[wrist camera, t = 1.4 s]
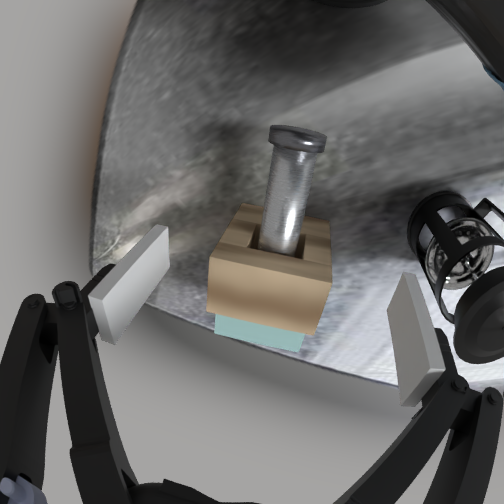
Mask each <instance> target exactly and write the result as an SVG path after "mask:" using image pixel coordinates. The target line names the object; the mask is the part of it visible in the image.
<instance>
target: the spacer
mask: <svg viewBox="0 0 504 504" xmlns="http://www.w3.org/2000/svg"><path fill="white" fill-rule="evenodd" d="M214 333H216V334H219V335H223V336H227V337H232V338H236V339H240V340H244V341H248V342H253V343H257V344H261V345H266V346H270V347H275V348H280V349H285V350H289V351H294V352H299V350H300V347H301V344H302V342H303V339H304V336H305V334H304V333H299V332H294V331H289V330H284V329H279V328H275V327H270V326H266V325H261V324H257V323H252V322H248V321H244V320H239V319H235V318H231V317H227V316H223V315H219V314H216V318H215V332H214Z"/></svg>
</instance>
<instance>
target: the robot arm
mask: <svg viewBox="0 0 504 504" xmlns="http://www.w3.org/2000/svg"><path fill="white" fill-rule="evenodd" d="M313 1H316V2H319V3H322V4H326V5H331V6H336V7H346V8H360V7H368V6H373V5H377V4H380V3H382V2H385V1H387V0H313ZM426 1H427V2H428V3H429V4H430V5H431V6H432V7H433V8H434V9H435V10H436V11H437V12H438V13H439V14H440V15H441V16H442V17H443V18H444V19H445V20H446V21H447V22H448V23H449V24H450V25H451V27H452V28H453V29H454V30H455V31H456V32H457V33H458V34H459V35H460V37H461V38H462V39H463V40H464V41H465V42H466V44H467V45H468V46H469V47H470V48H471V50H472V51H473V52H474V53H475V55H476V56H477V57H478V58H479V60H480V61H481V62H482V65H483V68H484V69H485V71H486V72H487V74H488V75H489V76H490V77H491V78H492V79H493V80H494V81H495V82H497V83H498V84H499V85H500V86H501V88H502V89H503V90H504V0H426ZM169 268H170V258H169V238H168V226H162V225H157V224H156V225H155V226H154V227H153V228H152V229H151V230H150V231H149V232H148V233H147V234H146V235H145V236H144V237H143V238H142V239H141V240H140V241H139V242H138V243H137V244H136V245H135V246H134V247H133V248H132V249H131V250H130V251H129V252H128V253H127V254H126V255H125V256H124V257H123V258H122V259H121V260H120V261H119V262H118V263H117V265H115V264H109V265H107V266H105V267H103V268H102V269H101V270H100V271H99V272H98V273H97V275H95V276H94V277H93V278H92V280H90V281H89V283H87V285H86V286H85V287H84V288H83V289H82V290H81V291H80V289H79V287H78V284H76V283H75V282H72V281H65V282H62V283H60V284H58V285H56V286H55V288H54V289H53V291H52V295H53V298H54V301H55V303H46V301H45V298H44V296H43V295H41V294H32V295H30V296H28V297H26V298H25V299H24V300H23V302H22V304H21V306H20V309H19V311H18V314H17V316H16V319H15V322H14V324H13V327H12V330H11V333H10V336H9V339H8V341H7V344H6V347H5V351H4V354H3V357H2V360H1V364H0V504H47V500H46V497H45V495H44V493H43V492H42V491H41V490H42V485H43V480H44V468H45V447H46V433H47V422H48V413H49V405H50V397H51V390H52V384H53V378H54V372H55V366H56V360H57V355H58V351H59V360H60V370H61V380H62V388H63V395H64V401H65V408H66V414H67V420H68V425H69V430H70V435H71V440H72V448H71V449H70V458H71V463H72V467H73V471H74V474H75V478H76V482H77V485H78V489H79V492H80V495H81V499H82V502H83V504H259V503H253V502H240V503H238V502H237V503H236V502H235V503H231V502H229V503H228V502H226V503H225V502H218V501H216V500H214V499H212V498H210V497H208V496H206V495H204V494H202V493H201V492H199V491H197V490H195V489H193V488H191V487H188V486H185V485H182V484H179V483H175V482H173V481H170V480H167V479H164V480H163V483H144V484H138V481H137V479H136V477H135V475H134V473H133V471H132V469H131V467H130V464H129V462H128V459H127V456H126V453H125V451H124V448H123V445H122V442H121V439H120V436H119V432H118V429H117V426H116V422H115V419H114V415H113V412H112V408H111V405H110V401H109V397H108V393H107V389H106V385H105V382H104V377H103V372H102V368H101V363H100V358H99V353H98V348H97V343H96V339H95V336H96V335H97V333H98V332H99V334H100V337H101V340H103V341H105V342H108V343H111V344H113V345H115V344H116V342H117V341H118V339H119V338H120V337H121V335H122V334H123V332H124V331H125V329H126V328H127V327H128V325H129V324H130V322H131V321H132V319H133V318H134V316H135V315H136V313H137V312H138V311H139V309H140V308H141V307H142V305H143V304H144V302H145V301H146V300H147V298H148V297H149V295H150V294H151V293H152V291H153V290H154V288H155V287H156V286H157V284H158V283H159V282H160V280H161V279H162V277H163V276H164V275H165V273H166V272H167V271H168V269H169ZM387 314H388V320H389V325H390V331H391V337H392V343H393V349H394V356H395V362H396V370H397V377H398V385H399V394H400V403H401V406H411V407H415V406H416V405H417V404H418V403H419V402H420V401H421V400H422V406H423V407H422V408H421V409H420V410H419V411H418V412H417V413H416V414H415V415H414V417H412V420H411V422H410V423H409V424H408V425H407V427H406V428H405V429H404V430H403V432H402V433H401V434H400V435H399V436H398V438H397V439H396V440H395V441H394V442H393V443H392V445H391V446H390V447H389V448H388V449H387V450H386V451H385V453H384V454H383V455H382V456H381V457H380V458H379V459H378V460H377V461H376V463H374V464H373V466H372V467H371V468H370V469H369V470H368V471H367V472H366V473H365V474H364V475H363V476H362V477H361V478H360V479H359V480H358V481H357V482H356V483H355V484H354V485H353V486H352V487H351V488H349V489H348V490H347V491H346V492H345V493H344V494H343V495H342V496H341V497H340V498H339V499H338V500H337V501H335V502H334V503H333V504H395V502H396V501H397V500H398V499H399V498H400V497H401V495H402V494H403V493H404V492H405V490H406V489H407V488H408V487H409V486H410V484H411V483H412V482H413V480H414V479H415V478H416V477H417V475H418V474H419V472H420V471H421V470H422V468H423V467H424V466H425V464H426V463H427V461H428V460H429V459H430V457H431V456H432V454H433V453H434V451H435V450H436V448H437V447H438V445H439V444H440V442H441V441H442V439H443V438H444V436H445V434H446V433H447V431H448V430H449V429H451V430H450V433H449V436H448V440H447V443H446V446H445V449H444V452H443V455H442V458H441V461H440V463H439V466H438V469H437V471H436V474H435V477H434V479H433V481H432V484H431V486H430V489H429V491H428V493H427V496H426V498H425V500H424V502H423V504H483V501H484V498H485V495H486V491H487V488H488V484H489V480H490V476H491V472H492V468H493V464H494V459H495V454H496V449H497V444H498V438H499V432H500V426H501V418H502V410H503V398H502V395H501V394H500V392H499V391H498V390H496V389H495V388H492V387H487V388H486V389H485V390H484V391H483V392H482V393H480V392H478V391H475V390H472V389H470V388H469V384H468V382H467V381H466V380H465V379H464V378H463V377H462V376H460V375H458V373H457V369H456V365H455V362H454V359H453V355H452V353H451V349H450V346H449V342H448V339H447V336H446V335H445V334H444V332H443V331H442V329H440V328H434V327H433V323H432V320H431V317H430V314H429V311H428V308H427V305H426V302H425V299H424V296H423V294H422V291H421V288H420V285H419V283H418V280H417V277H416V275H415V274H411V273H406V272H403V274H402V276H401V279H400V281H399V283H398V286H397V288H396V290H395V293H394V295H393V297H392V300H391V302H390V304H389V306H388V308H387Z"/></svg>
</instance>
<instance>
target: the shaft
mask: <svg viewBox="0 0 504 504" xmlns="http://www.w3.org/2000/svg"><path fill="white" fill-rule="evenodd" d="M326 139H327V136H325V135H324V134H321V133H319V132H316V131H312V130H308V129H304V128H299V127H293V126H286V125H272V126H270V132H269V139H268V141H269V142H270V143H271V144H273V145H274V147H273V153H272V160H271V166H270V172H269V179H268V185H267V191H266V197H265V204H264V210H263V216H262V222H261V229H260V235H259V241H258V247H257V250H261V251H265V252H270V253H275V254H279V255H284V256H289V257H293V258H295V253H296V249H297V245H298V241H299V236H300V232H301V227H302V223H303V219H304V214H305V209H306V205H307V200H308V196H309V191H310V186H311V182H312V177H313V172H314V167H315V162H316V157H317V153H322V152H324V149H325V144H326Z"/></svg>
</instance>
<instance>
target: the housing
mask: <svg viewBox="0 0 504 504" xmlns="http://www.w3.org/2000/svg"><path fill="white" fill-rule="evenodd" d="M263 210H264V207H261V206H256V205H251V204H246V203H242V204H241V206H240V208H239V209H238V211H237V212H236V214H235V216H234V217H233V219H232V221H231V222H230V224H229V225H228V227H227V229H226V230H225V232H224V234H223V235H222V237H221V239H220V240H219V242H218V244H217V245H216V247H215V249H214V250H213V252H212V254H211V255H210V258H209V274H208V291H207V310H206V311H207V312H211V313H215V314H219V315H223V316H227V317H231V318H235V319H239V320H244V321H248V322H252V323H257V324H261V325H266V326H270V327H275V328H279V329H284V330H289V331H294V332H299V333H304V334H309V335H314V333H315V331H316V328H317V325H318V322H319V320H320V317H321V314H322V311H323V309H324V306H325V303H326V300H327V297H328V294H329V292H330V289H331V286H332V261H331V241H330V224H329V221H327V220H322V219H318V218H313V217H309V216H304V219H303V223H302V227H301V232H300V236H299V241H298V245H297V249H296V253H295V258H293V257H289V256H284V255H279V254H275V253H270V252H265V251H261V250H257V247H258V241H259V235H260V229H261V222H262V216H263Z"/></svg>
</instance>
